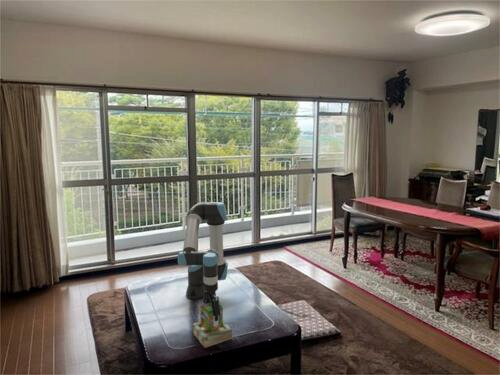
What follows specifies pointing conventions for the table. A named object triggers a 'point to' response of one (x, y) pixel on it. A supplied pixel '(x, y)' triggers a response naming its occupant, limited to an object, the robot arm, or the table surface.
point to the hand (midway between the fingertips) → (211, 321)
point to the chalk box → (210, 317)
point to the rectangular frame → (212, 334)
